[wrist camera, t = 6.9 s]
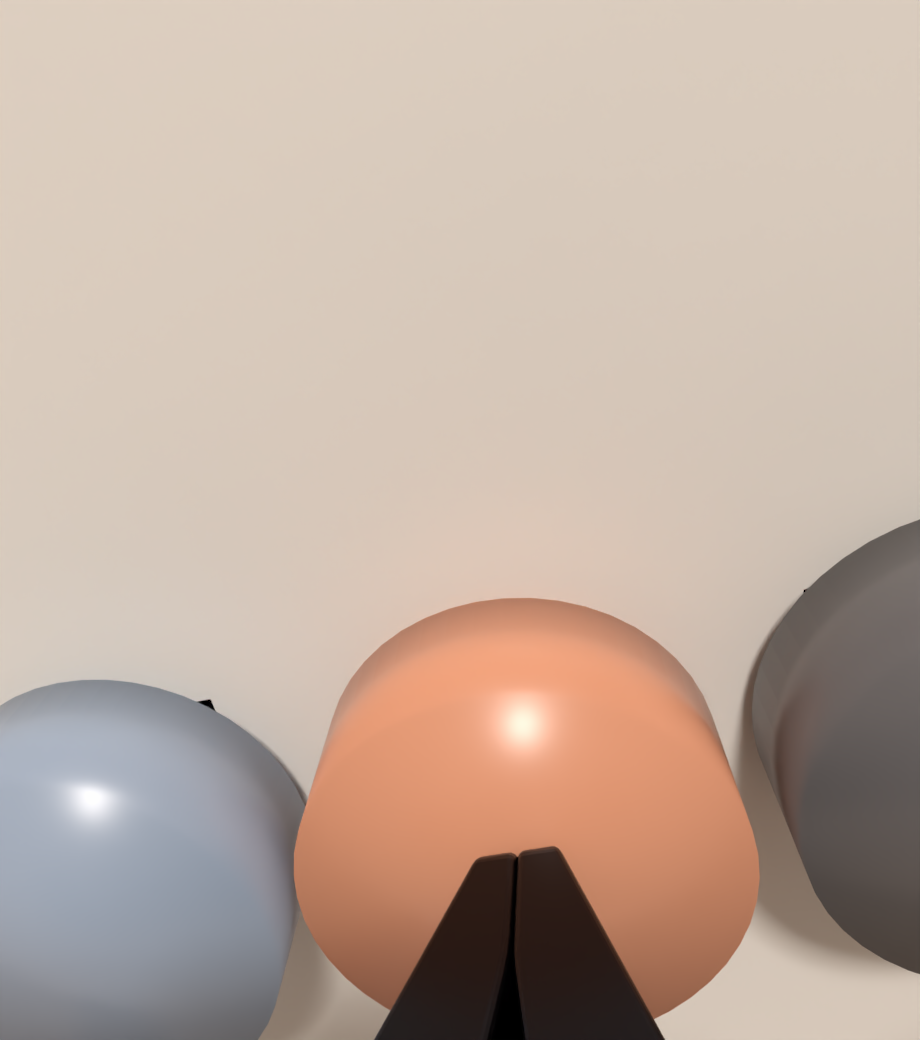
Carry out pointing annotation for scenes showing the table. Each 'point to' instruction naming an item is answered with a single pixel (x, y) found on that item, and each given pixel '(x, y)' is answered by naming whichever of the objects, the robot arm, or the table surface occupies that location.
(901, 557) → the charcoal button
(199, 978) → the slate button
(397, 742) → the terracotta button
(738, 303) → the panel
